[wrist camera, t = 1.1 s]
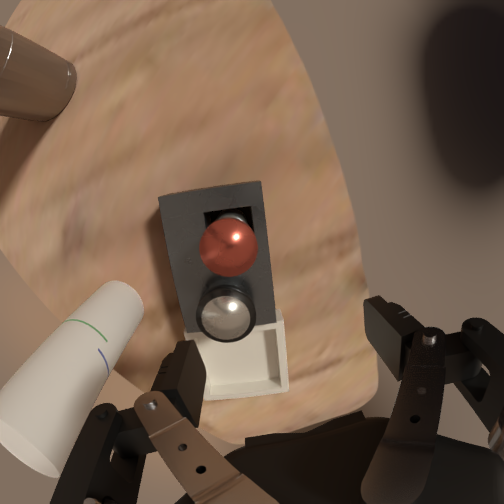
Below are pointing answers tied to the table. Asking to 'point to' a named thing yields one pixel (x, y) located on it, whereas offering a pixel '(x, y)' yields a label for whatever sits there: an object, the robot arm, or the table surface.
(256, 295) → the dark grey block
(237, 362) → the dish
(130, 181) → the table surface
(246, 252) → the pin
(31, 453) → the cylindrical container
